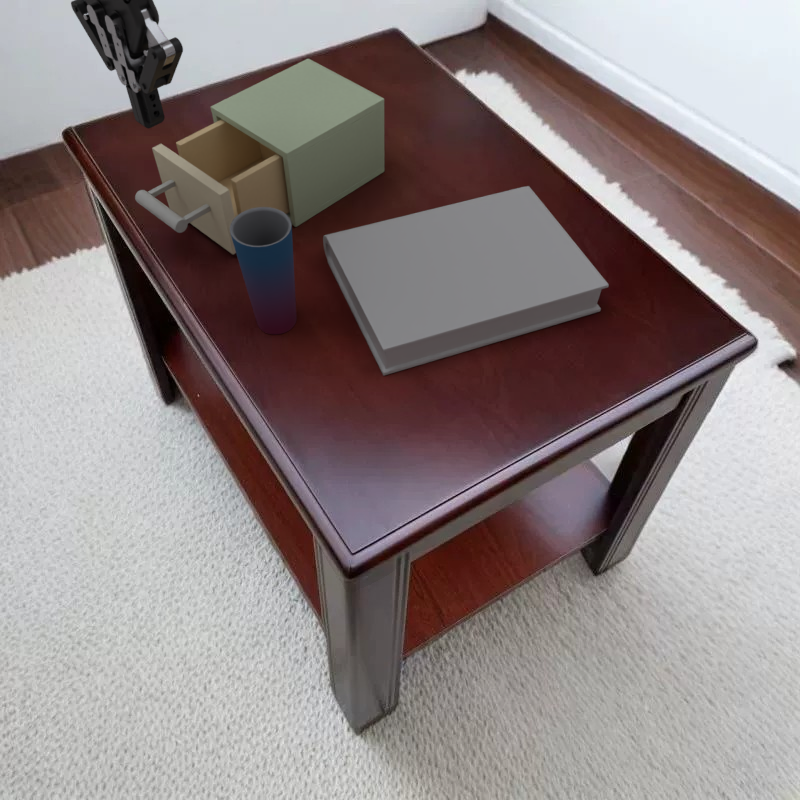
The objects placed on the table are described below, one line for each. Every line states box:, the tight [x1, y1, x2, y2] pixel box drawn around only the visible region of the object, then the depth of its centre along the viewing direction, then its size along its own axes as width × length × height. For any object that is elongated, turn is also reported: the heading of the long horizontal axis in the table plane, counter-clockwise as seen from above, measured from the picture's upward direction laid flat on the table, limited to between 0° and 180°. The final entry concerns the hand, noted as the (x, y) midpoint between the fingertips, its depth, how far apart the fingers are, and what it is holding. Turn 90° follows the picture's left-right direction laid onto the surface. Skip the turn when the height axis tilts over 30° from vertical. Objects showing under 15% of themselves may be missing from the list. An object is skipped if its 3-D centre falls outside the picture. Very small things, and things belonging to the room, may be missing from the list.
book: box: [322, 185, 609, 377], centre depth 76 cm, size 18×4×24 cm
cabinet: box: [210, 58, 385, 228], centre depth 85 cm, size 15×13×10 cm
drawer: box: [134, 119, 290, 255], centre depth 80 cm, size 18×11×8 cm, turn 137°
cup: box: [230, 207, 298, 335], centre depth 69 cm, size 6×5×12 cm
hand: (151, 122), depth 68 cm, fingers closed
